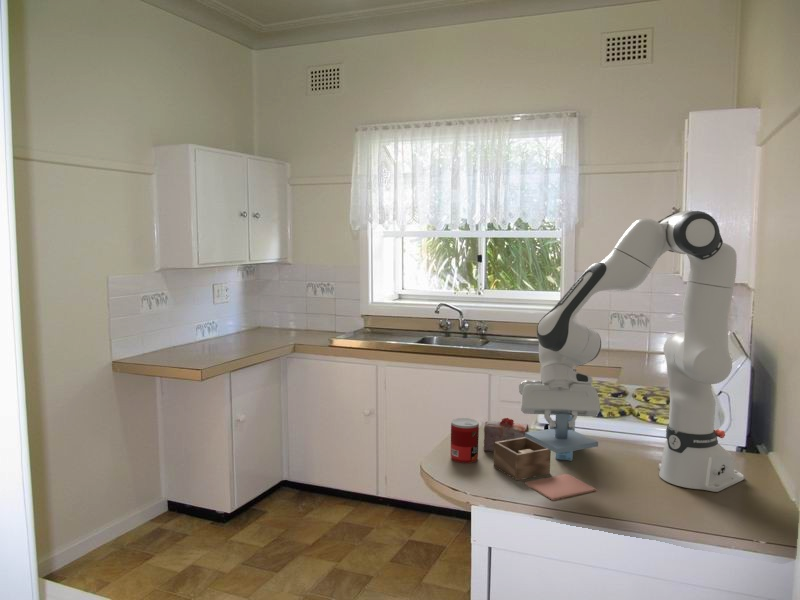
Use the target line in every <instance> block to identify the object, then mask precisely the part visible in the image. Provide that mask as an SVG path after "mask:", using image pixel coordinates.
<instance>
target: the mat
mask: <svg viewBox="0 0 800 600" xmlns="http://www.w3.org/2000/svg"><path fill="white" fill-rule="evenodd" d="M524 484H525V485H526V486H527V485H528V486H527V487H528V488H531V489H532V488H533V489H532V490H534V491H535V492H537V491H538V492H537V493H539V494H540V493H541V495H542V494H543V495H542V496H543V497H545V496H546V498H547V497H548V498H547V499H549V500H550V499H551V500H550V501H555V500H556V501H557V500H559V499H560V498H561V499H564V498H571V497H575V496H577V495H578V496H579V495H582V494H583V495H584V494H586V493H591V492H595V491H596V490H597V489H596V488H595V487H593V486H592V485H590V484H588V483H585V482H584V481H582V480H580V479H578V478H576V477H575V476H573V475H571V474H569V473H564V474H558V475H555V476H550V477H544V478H540V479H534V480H531V481H525V482H524Z"/></svg>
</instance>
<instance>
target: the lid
mask: <svg viewBox="0 0 800 600" xmlns="http://www.w3.org/2000/svg"><path fill="white" fill-rule="evenodd" d="M568 419H569V415H568V414H566V413H556V415H555V421H556V429H550V428H548V429H540V430H533V431H529V432H526V433H525V437H526V438H528V439H530V440H532V441H534V442H536V443H538V444H539V445H541V446H543V447H545V448H547V449H549V450H551V451H552V452H554V453H555V454H556V453H563V452H569V451H573V452H574V451H579V450H585V449H590V448H598V447H599V441H597V440H595V439H594V438H591V437H588V436H586V435H584V434H582V433H579V432H577V431H573V430H568Z"/></svg>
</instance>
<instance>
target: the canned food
mask: <svg viewBox="0 0 800 600" xmlns="http://www.w3.org/2000/svg"><path fill="white" fill-rule="evenodd" d="M450 422H451V423H450V457H451V460H453V461H454V462H457V463H460V464H461V463H462V464H472V463H475V462H476V461H477V460H478V459H479V458H478V457H479V431H480V428H479V427H480V426H479V421H478V420H476V419H473V418H468V417H467V418H465V417H458V418H455V419H454V418H453V419H452V420H451V421H450Z"/></svg>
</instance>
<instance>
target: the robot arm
mask: <svg viewBox="0 0 800 600" xmlns="http://www.w3.org/2000/svg"><path fill="white" fill-rule="evenodd" d="M720 232H721V231H720V227H719V225H718V222H717V220H716V219H715V218H714V217H713V216H712V215H710V214H709V213H707V212H705V211H701V210H682V211H680V212H674V213H671V214H669V215H667V216H665V217H664V218H662V219H661V220H658V221H657V220H655V219H653V218H652V219H651V218H646V217H645V218H644V217H643V218H638V219H637V220H635V221H634V222H632V223H631V224H630V226H629V227H628V228H627V229H626V231H625V232H624V233H623V234H622V235H621V237H620V238H619V240H618V241H617V242H616V244H615V245H614V247H612V250H611V251H610V252H609V253H608V255H607V256H605V258H603V259H602V260H600V261H599V262H596V263H595V262H594V263H593V264H591V265H589V266H588V268H586V269H585V270H584V271H583V273H581V275H579V277H578V278H577V279H576V280H575V282H574V283H572V285H571V287H570V288H569V289H568V290H567V291H566V292H565V294H564V295H563V296H562V297H561V298H560V300H559V301H558V302H557V303H556V305H554V306H553V307H552V308H551V309H550V310H549V311H548V312H547V313H546V314H544V316H543V317H541V319H540V320H539V322H538V324H537V326H536V336H537V340H538V359H539V360H538V361H539V363H540V369H539V370H540V371H539V375H540V380H524V381H522V382H520V383H519V384H518V393H519V394H520V395H521V399H520V411H521V412H522V413H523V414H524V415H525V414H526V415H527V414H528V415H529V414H530V415H543V418H544V420H546V422H547V423H548V427H549V428H548V429H556V420H554V419H552V417H551V416H554V415H555V416H556V413H566V414H568V415H570V416H571V419H572V421H568V430H574V422H575V423H576V420H577V418H578V417H597V416H598V414H599V413H600V410H601V403H600V397H599V395H598V391H597V389H596V388H595V386H593V378H592V376H590V375H587V374H586V373H581V372H577V370H576V371H573V369H574V367H580V366H583V365H586V364H588V363H591V362H592V361H594V360H595V359H597V358H598V356H599V354H600V352H601V349H602V338H601V336H600V334H599V333H598V332H597V331H596V330H594V329H592V328H590V327H588V326H587V325H585V324H582V323H580V322H578V321H577V320H575V317H576V315H577V314H579V312H580V311H581V310H582V308H583V307H584V306H585V305H586V304H587V302H588V301H589V300H590V299H591V298H592V297H593V296H594V295H596V294H597V293H598V292H603V291H618V292H619V291H621V292H622V291H624V292H626V291H631V290H634V289H636V288H638V287H640V286H641V285H642V284H643V283H644V282H645V280H646V279H647V278H648V276H649V274H650V273H651V271H652V270H653V268H654V266H655V265H656V263H657V261H658V260H659V258H661V256H662V255H664V254H665V253H667V252H671V253H677V254H682V255H686V256H687V258H688V260H689V269H690V270H689V273H688V277H687V281H686V286H685V287H686V288H685V292H684V298H683V303H682V307H681V314H682V317H683V332H681V331H680V332H676V333H673V334H671V335H670V336H669V337H668V338H666V340H665V342H664V344H663V350H662V351H663V354H664V359H665V362H666V363H665V364H666V373H667V380H668V388H669V410H668V411H669V414H668V424H667V425H666V429H665V438H666V440H665V441H664V445H663V452H662V457H661V461H660V462H659V463H658V469H659V473H658V475H659V477H660V478H661V479H662V480H663V481H665V482H666V483H669V484H670V485H671V484H672V485H674V486H678V487H681V488H686V489H693V490H703V491H704V490H705V491H708V492H712V493H713V492H716V493H717V492H718V493H719V492H720V491H723V490H725V489H726V488H729V487H731V486H733V485H735V484H737V483H740V482H742V481H743V480H745V476H744V474H743V473H741V472H740V471H738V470H736V469H735V458H734V456H733V455H732V453H730V452H729V451H728V450H727V449H726V448H724V447H723V446H722V445H721V444H720V443H719V440H718V438H720V439H724V438H725V436H726V432H725V431H724V430H721V429H719V428H717V429H715V420H716V419H715V418H716V417H715V415H716V399H715V396H714V393H713V389H712V385H716V384H720V383H721V382H723V381H725V380H726V379H727V378H728V377H729V376H730V374H731V372H732V369H733V361H732V358H731V355H730V351H729V333H728V332H729V328H728V327H729V324H728V323H729V314H730V309H731V304H732V299H733V293H734V287H735V283H736V276H737V265H738V264H737V251H736V250H735V248H734V247H733V246H731V245H730V244H728V243H726V242H724V241H723V238H722V235H721V233H720Z"/></svg>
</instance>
